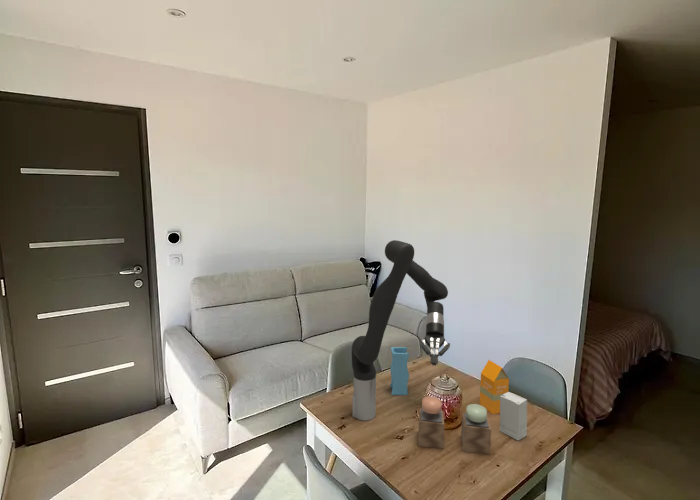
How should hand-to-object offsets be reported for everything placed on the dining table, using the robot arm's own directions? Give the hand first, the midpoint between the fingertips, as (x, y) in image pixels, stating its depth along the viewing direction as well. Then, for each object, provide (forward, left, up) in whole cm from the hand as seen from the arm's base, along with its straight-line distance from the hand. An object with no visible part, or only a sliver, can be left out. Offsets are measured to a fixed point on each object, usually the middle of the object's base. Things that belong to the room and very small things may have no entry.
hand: (434, 364), depth 153 cm
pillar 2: (+15, -13, -24) cm, 31 cm away
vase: (-15, +22, -24) cm, 36 cm away
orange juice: (+26, +15, -24) cm, 39 cm away
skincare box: (+30, -3, -24) cm, 39 cm away
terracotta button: (-1, -13, -11) cm, 17 cm away
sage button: (+15, -13, -13) cm, 24 cm away
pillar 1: (-1, -13, -24) cm, 27 cm away
